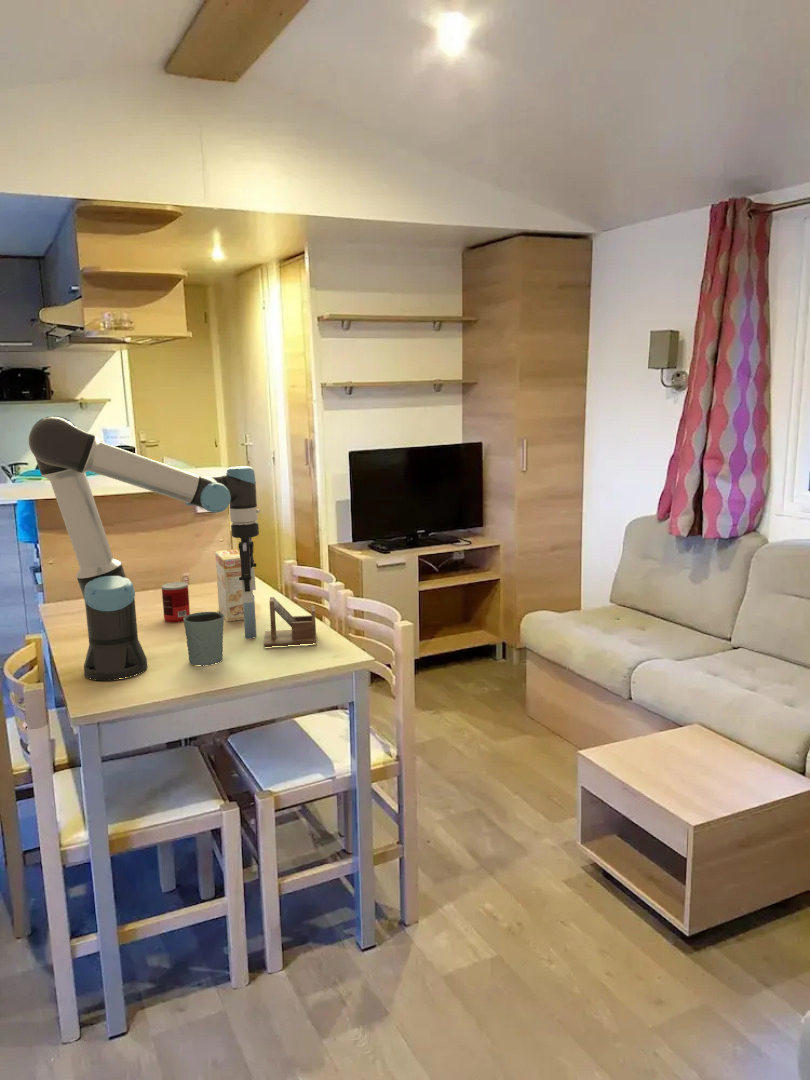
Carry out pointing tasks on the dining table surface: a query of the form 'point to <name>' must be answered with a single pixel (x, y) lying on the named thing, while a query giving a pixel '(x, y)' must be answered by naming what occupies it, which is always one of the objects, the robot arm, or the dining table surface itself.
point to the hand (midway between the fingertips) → (249, 596)
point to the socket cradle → (300, 625)
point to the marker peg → (249, 619)
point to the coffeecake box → (229, 584)
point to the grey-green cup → (204, 637)
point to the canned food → (175, 601)
